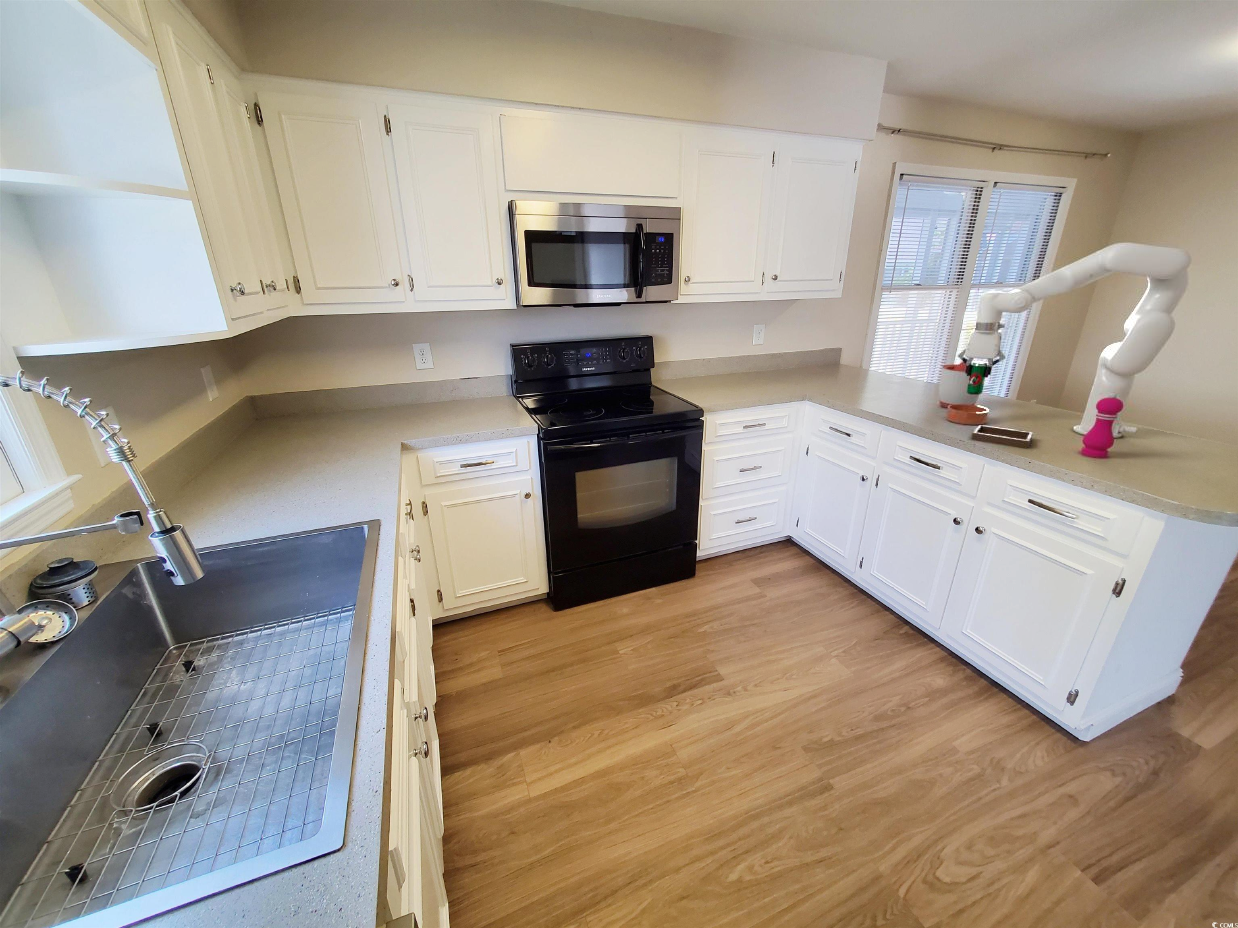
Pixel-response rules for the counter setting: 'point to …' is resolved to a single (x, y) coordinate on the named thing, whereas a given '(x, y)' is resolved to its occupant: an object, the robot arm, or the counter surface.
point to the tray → (1002, 436)
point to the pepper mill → (1102, 428)
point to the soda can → (976, 378)
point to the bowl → (967, 414)
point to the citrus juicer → (955, 386)
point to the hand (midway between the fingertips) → (977, 375)
